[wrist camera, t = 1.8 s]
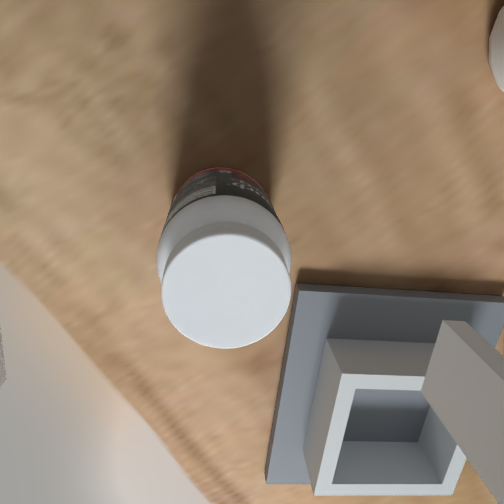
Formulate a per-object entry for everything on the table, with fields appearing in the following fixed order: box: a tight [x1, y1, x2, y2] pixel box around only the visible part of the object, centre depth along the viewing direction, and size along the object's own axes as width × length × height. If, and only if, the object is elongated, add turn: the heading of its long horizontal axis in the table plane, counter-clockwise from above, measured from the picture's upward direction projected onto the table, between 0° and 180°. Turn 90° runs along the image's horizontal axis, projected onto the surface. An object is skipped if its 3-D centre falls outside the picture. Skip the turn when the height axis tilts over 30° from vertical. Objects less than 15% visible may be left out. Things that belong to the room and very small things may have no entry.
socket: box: [265, 283, 504, 496], centre depth 28 cm, size 16×14×4 cm
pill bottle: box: [157, 167, 291, 348], centre depth 20 cm, size 6×6×10 cm
